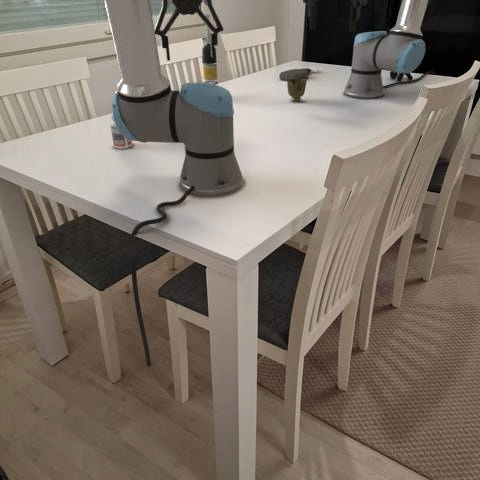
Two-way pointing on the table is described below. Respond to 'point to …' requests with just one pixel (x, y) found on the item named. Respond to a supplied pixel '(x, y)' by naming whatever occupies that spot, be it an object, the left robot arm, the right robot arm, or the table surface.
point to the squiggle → (400, 76)
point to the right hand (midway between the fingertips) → (331, 30)
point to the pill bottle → (118, 137)
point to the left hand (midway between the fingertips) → (190, 58)
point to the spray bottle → (297, 73)
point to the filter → (209, 60)
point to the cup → (296, 88)
